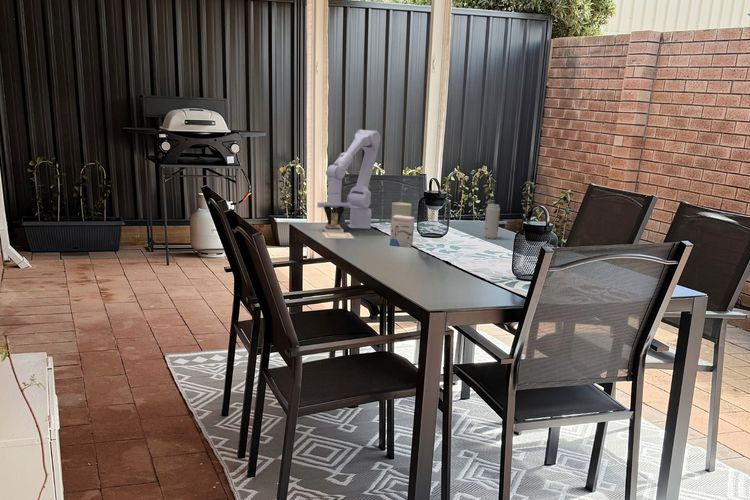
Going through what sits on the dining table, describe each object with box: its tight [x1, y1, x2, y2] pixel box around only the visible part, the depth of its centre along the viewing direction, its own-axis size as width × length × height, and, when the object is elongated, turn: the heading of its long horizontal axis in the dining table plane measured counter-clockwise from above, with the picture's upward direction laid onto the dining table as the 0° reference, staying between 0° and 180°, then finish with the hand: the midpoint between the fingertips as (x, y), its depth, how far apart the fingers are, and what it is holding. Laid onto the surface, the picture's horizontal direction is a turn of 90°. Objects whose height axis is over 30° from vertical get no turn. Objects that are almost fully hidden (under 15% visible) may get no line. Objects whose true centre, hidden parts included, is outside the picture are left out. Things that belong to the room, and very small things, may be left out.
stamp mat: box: [321, 231, 356, 240], centre depth 284 cm, size 12×12×1 cm
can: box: [390, 201, 413, 229], centre depth 311 cm, size 9×9×12 cm
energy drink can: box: [483, 203, 501, 240], centre depth 299 cm, size 6×6×15 cm
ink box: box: [389, 215, 415, 248], centre depth 271 cm, size 9×5×12 cm, turn 73°
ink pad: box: [322, 226, 345, 233], centre depth 296 cm, size 8×8×1 cm
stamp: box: [325, 212, 341, 229], centre depth 295 cm, size 5×5×7 cm
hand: (333, 223), depth 295 cm, fingers closed on stamp, 3 cm apart
